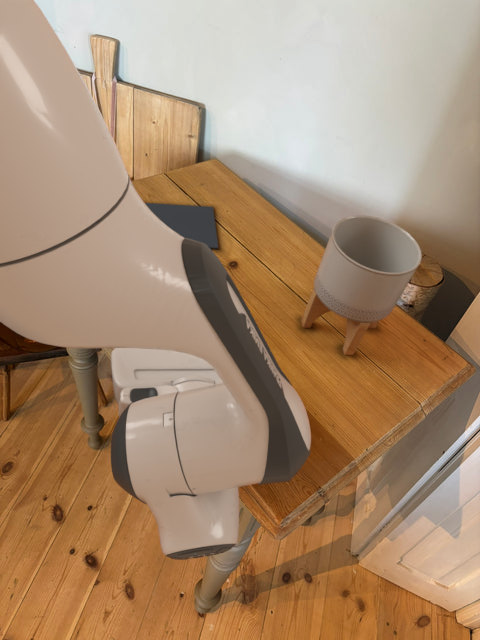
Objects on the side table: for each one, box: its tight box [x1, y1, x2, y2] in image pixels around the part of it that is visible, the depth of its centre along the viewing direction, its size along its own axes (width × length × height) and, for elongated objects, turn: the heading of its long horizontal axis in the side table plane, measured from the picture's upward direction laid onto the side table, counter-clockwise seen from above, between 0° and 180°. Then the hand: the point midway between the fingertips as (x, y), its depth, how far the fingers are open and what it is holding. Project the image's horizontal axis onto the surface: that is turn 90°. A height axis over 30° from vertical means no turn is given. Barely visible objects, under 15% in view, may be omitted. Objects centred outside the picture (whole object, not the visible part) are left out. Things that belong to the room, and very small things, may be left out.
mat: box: [144, 202, 219, 250], centre depth 90 cm, size 14×13×1 cm
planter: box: [300, 214, 422, 356], centre depth 72 cm, size 13×13×18 cm
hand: (188, 326), depth 65 cm, fingers open, 8 cm apart
